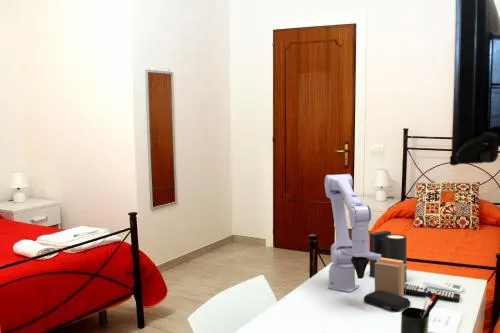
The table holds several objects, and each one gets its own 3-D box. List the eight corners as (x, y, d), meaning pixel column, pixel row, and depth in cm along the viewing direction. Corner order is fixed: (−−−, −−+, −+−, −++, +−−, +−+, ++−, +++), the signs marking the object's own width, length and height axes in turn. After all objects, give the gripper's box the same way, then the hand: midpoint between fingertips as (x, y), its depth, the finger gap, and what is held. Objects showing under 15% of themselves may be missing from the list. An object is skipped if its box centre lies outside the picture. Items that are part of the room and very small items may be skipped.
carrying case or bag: (359, 303, 183) (394, 315, 172) (359, 295, 183) (394, 306, 171) (377, 296, 190) (412, 306, 178) (377, 288, 189) (412, 298, 178)
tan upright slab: (398, 299, 184) (398, 264, 183) (374, 294, 190) (374, 260, 189) (406, 293, 191) (406, 258, 189) (383, 288, 196) (383, 255, 195)
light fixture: (395, 285, 200) (394, 240, 198) (369, 276, 211) (369, 233, 210) (412, 280, 205) (412, 236, 203) (386, 272, 216) (386, 230, 215)
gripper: (336, 239, 180) (336, 277, 182) (375, 244, 172) (375, 284, 173) (345, 235, 186) (345, 272, 187) (383, 240, 177) (383, 278, 179)
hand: (360, 277), depth 181 cm, fingers closed
